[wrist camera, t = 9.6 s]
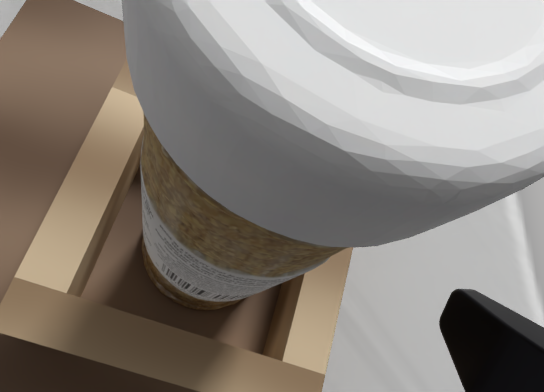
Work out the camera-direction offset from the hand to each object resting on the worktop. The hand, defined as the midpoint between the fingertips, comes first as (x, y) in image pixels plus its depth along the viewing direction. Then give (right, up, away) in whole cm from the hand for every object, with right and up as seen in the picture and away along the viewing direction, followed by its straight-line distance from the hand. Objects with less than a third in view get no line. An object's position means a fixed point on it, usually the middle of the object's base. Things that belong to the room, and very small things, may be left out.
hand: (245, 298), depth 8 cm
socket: (-4, +1, +8) cm, 9 cm away
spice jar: (-2, 0, +8) cm, 8 cm away
